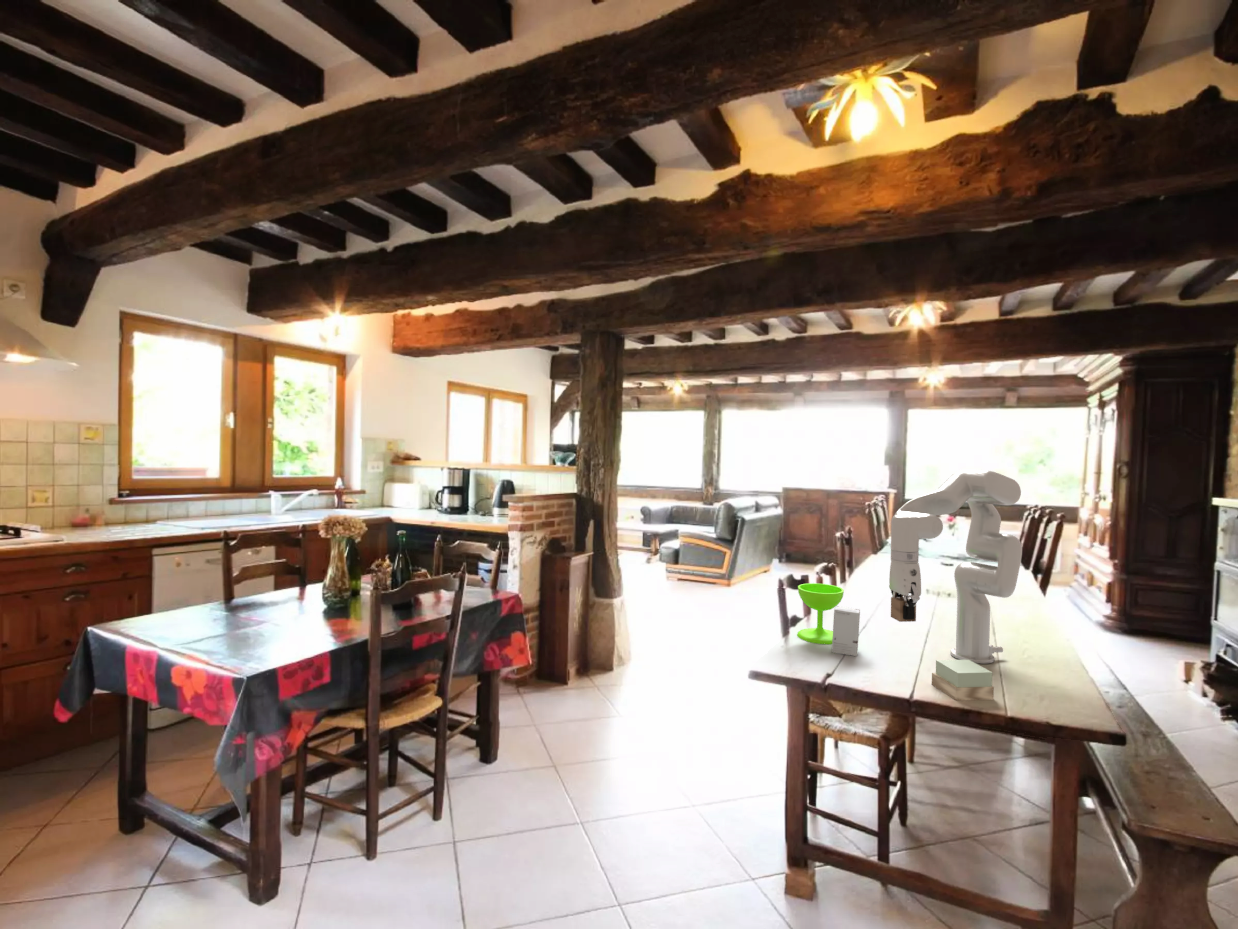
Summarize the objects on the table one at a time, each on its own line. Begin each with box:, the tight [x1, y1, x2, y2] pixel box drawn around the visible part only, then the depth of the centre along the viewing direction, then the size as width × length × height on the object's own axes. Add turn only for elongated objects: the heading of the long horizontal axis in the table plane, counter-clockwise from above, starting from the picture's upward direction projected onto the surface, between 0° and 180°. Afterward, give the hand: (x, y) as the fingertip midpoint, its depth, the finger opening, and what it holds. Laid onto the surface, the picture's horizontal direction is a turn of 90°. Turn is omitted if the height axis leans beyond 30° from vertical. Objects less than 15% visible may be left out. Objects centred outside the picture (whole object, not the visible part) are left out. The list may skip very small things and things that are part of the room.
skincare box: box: [831, 605, 861, 657], centre depth 203 cm, size 8×6×15 cm
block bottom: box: [931, 672, 995, 701], centre depth 171 cm, size 11×11×4 cm
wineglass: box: [796, 582, 845, 645], centre depth 218 cm, size 16×16×18 cm
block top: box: [935, 659, 993, 687], centre depth 170 cm, size 10×10×4 cm
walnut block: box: [890, 596, 917, 623], centre depth 179 cm, size 5×5×6 cm
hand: (903, 615), depth 179 cm, fingers closed on walnut block, 5 cm apart
